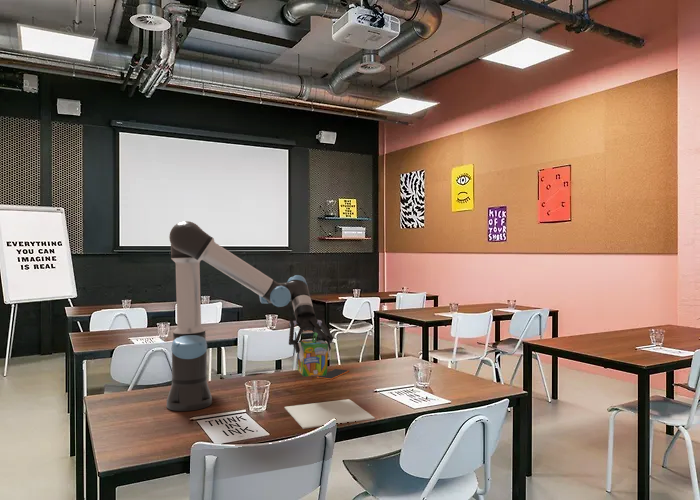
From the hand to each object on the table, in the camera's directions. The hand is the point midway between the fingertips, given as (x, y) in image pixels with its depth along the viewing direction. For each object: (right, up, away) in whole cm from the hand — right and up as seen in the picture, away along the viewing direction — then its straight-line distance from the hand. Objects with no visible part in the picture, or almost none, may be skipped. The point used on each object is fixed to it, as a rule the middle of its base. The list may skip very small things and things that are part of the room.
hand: (315, 358), depth 181 cm
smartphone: (+5, -16, +40) cm, 43 cm away
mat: (+5, -15, -13) cm, 21 cm away
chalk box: (-1, -6, +3) cm, 7 cm away
